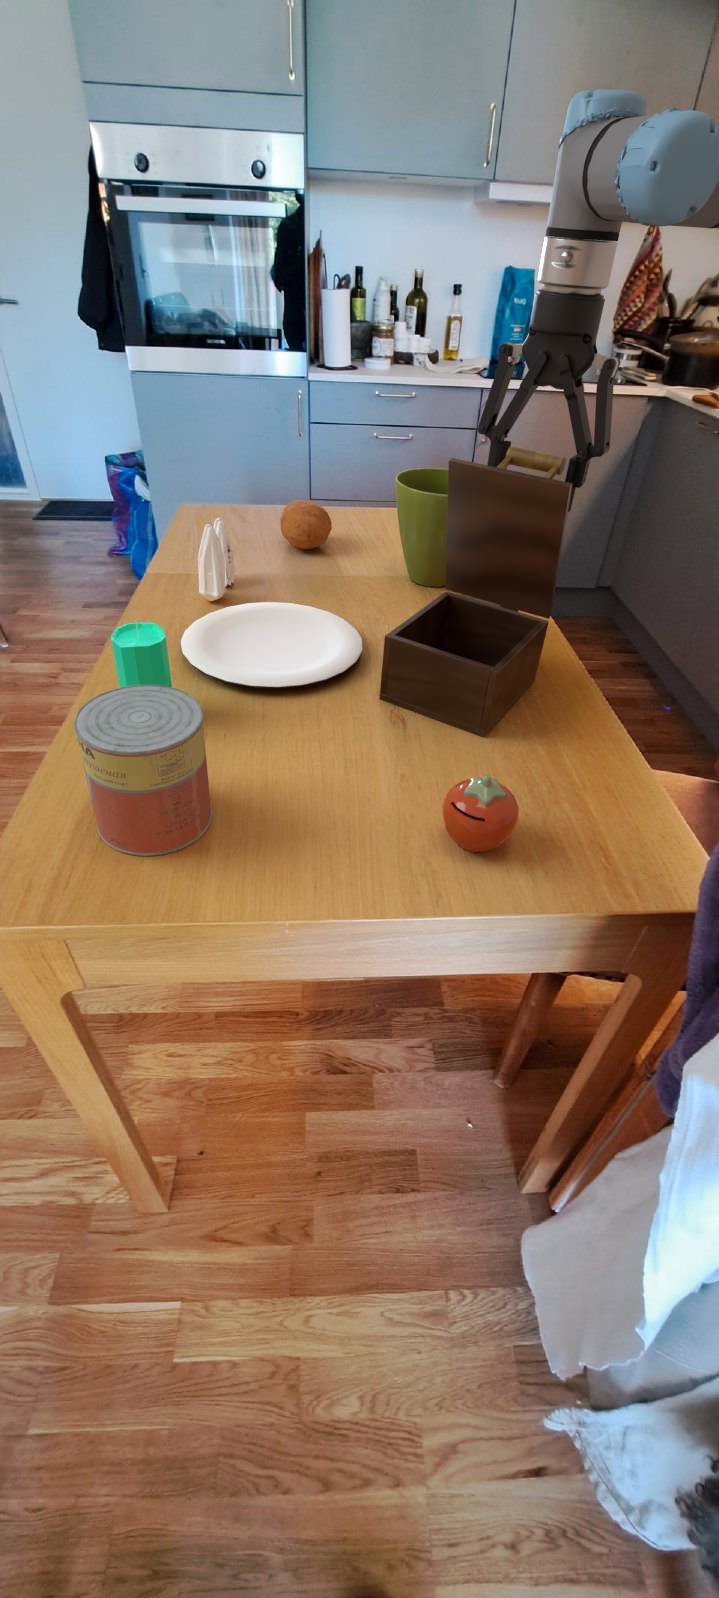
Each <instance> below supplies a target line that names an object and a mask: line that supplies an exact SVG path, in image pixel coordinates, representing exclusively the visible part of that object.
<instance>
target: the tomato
mask: <svg viewBox="0 0 719 1598" xmlns="http://www.w3.org/2000/svg"><path fill="white" fill-rule="evenodd" d="M441 810H442V818H443V821H444V825H445V829H446V831H447V833H448V835H449V836H450V837H451V839H452V840H453V842H455V844H457V845H458V847H460V848H462V849H463V850H465V851H468V852H471V853H484V852H488V851H492V850H494V849H496V848H497V847H499V846H500V845H502V844H503V843H505V842H506V841H507V839H508V838H509V837H510V836H511V835H512V834H513V832H514V831H515V829H516V826H517V825H518V822H519V815H520V814H519V813H520V807H519V804H518V801H517V799H516V796H515V794H513V792H512V791H510V789H508V788H507V786H505V785H503V784H502V783H501V782H499V781H498V780H497V779H496V778H492V777H491V776H490V775H487V774H486V775H483V777H479V776H472V777H470V778H467V779H463V780H461V781H458V782H457V783H455V784H454V785H453V786H451V788H450V789H449V790H448V792H447V793H446V794H445V796H444V799H443V803H442V809H441Z"/></svg>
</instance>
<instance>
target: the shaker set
mask: <svg viewBox="0 0 719 1598" xmlns="http://www.w3.org/2000/svg"><path fill="white" fill-rule="evenodd" d="M203 528H204V529H203V532H202V536H201V540H200V545H199V549H198V553H197V570H198V571H197V572H198V573H197V575H198V593H199V595H201V596H202V597H203V598H204V599H205V600H207V602H213V601H216V600H219V599H221V598H222V597H223V596H224V594H225V593H226V587H228V585H229V586H232V584H235V561H234V548H233V545H232V541H231V538H230V535H229V532H228V529H227V527H226V524H225V522H224V521H223V520H222V519H221V518H219V517H218V518H215V520H214V522H213V526H212V525H211V524H210V523H207V524H205V525H204V527H203Z"/></svg>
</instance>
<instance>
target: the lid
mask: <svg viewBox="0 0 719 1598" xmlns="http://www.w3.org/2000/svg"><path fill="white" fill-rule="evenodd" d="M566 463H567V458H566V457H565V456H561V455H556V454H553V453H546V452H542V451H536V450H531V449H526V448H521V447H518V446H517V447H516V446H512V445H511V447H509V449H508V451H507V454H506V458H505V459H504V460H503V461H502V462H501V463H500V464H499V465H498V466H497V467H493V466H488V465H487V464H483V463H478V462H473V461H469V460H464V459H459V458H455V457H451V458H450V459H449V460H448V468H447V469H448V504H447V541H446V579H445V586H444V589H445V591H449V592H452V593H456V594H457V593H460V594H464V595H467V596H471V597H474V598H478V599H481V600H485V601H488V602H492V603H495V604H499V605H502V606H505V607H509V608H512V609H516V610H518V611H519V612H522V613H525V614H529V615H532V616H536V617H539V618H540V617H541V618H543V619H546V620H549V619H550V618H551V616H552V612H553V606H554V599H555V594H556V588H557V582H558V577H559V570H560V563H561V556H562V552H563V551H562V550H563V544H564V539H565V533H566V525H567V521H568V520H567V519H568V514H569V512H568V508H569V502H570V496H571V489H572V483H568V482H565V480H564V481H562V480H558V479H554V477H556V476H557V475H558V476H561V475H562V474H563V473H564V471H565V468H566ZM509 466H513V467H519V468H524V469H530V470H535V471H539V472H544V473H546V474H545V475H544V476H540V475H536V474H535V475H534V474H531V473H530V474H529V473H525V472H521V471H516V470H512V469H508V467H509ZM506 468H507V469H506Z"/></svg>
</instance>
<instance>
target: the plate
mask: <svg viewBox="0 0 719 1598" xmlns="http://www.w3.org/2000/svg"><path fill="white" fill-rule="evenodd" d="M180 646H181V652H182V655H183V657H184V658H185V659H186V660H187V662H188V663H189V664H190V665H191V666H192V667H193V668H195V669H197V671H200V672H201V673H203V674H204V675H206V676H208V677H211V678H214V679H216V680H219V681H222V682H224V683H227V684H232V685H238V686H243V687H248V688H257V689H259V688H261V689H286V688H299V687H305V686H309V685H313V684H318V683H321V682H325V681H327V680H329V679H332V678H334V677H336V676H340V675H341V674H343V673H345V672H346V671H348V670H349V669H350V668H351V667H353V666H354V665H355V664H356V663H357V661H358V660H359V658H360V656H361V655H362V653H363V638H362V637H361V635H360V633H359V631H358V630H357V628H355V627H354V626H353V625H351V624H350V623H349V622H348V621H347V620H345V619H344V618H342V617H340V616H338V615H336V614H334V613H332V612H330V611H328V610H324V609H320V608H317V607H314V606H310V605H304V604H299V603H292V602H278V601H275V602H274V601H264V602H263V601H262V602H248V603H242V604H236V605H231V606H227V607H223V608H220V609H218V610H214V611H211V612H209V613H207V614H205V615H203V616H202V617H200V618H198V619H196V620H195V621H193V623H191V624H190V625H189V626H188V627H187V628H186V629H185V630H184V632H183V634H182V637H181V639H180Z"/></svg>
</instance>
